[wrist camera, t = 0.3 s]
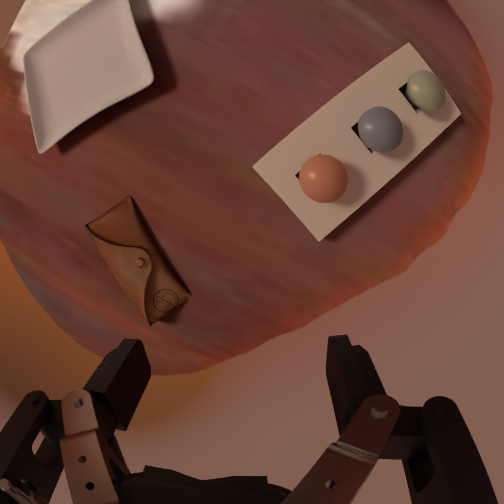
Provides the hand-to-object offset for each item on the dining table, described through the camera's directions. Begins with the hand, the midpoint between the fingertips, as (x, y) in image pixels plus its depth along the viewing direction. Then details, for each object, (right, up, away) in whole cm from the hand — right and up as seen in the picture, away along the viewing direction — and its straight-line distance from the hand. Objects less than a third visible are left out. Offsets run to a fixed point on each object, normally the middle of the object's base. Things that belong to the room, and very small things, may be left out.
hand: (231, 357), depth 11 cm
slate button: (+15, +19, +19) cm, 31 cm away
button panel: (+15, +19, +21) cm, 32 cm away
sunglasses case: (-15, +3, +28) cm, 32 cm away
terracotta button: (+9, +13, +21) cm, 26 cm away
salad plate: (-24, +32, +19) cm, 45 cm away
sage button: (+22, +25, +17) cm, 37 cm away
